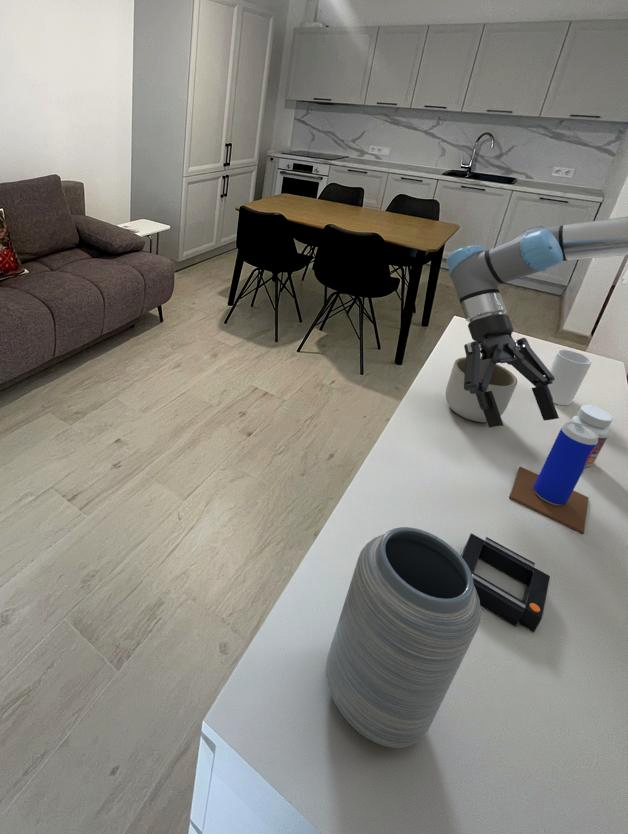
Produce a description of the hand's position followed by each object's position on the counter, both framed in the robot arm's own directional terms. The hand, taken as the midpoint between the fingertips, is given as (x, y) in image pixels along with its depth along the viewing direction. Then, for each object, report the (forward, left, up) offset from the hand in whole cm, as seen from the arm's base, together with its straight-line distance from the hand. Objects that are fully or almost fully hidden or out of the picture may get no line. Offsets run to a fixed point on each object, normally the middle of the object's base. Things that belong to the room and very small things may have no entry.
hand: (524, 423), depth 95 cm
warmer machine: (-4, +33, -10) cm, 35 cm away
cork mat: (-8, +5, -10) cm, 14 cm away
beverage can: (-8, +5, -10) cm, 13 cm away
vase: (+4, +61, -10) cm, 62 cm away
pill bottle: (-10, -13, -10) cm, 19 cm away
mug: (-4, -39, -10) cm, 41 cm away
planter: (+10, -14, -10) cm, 20 cm away
